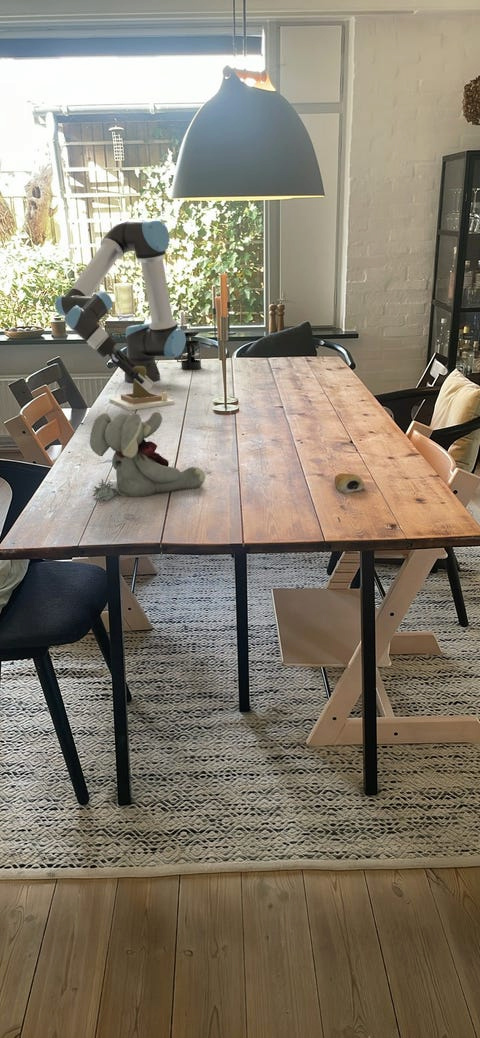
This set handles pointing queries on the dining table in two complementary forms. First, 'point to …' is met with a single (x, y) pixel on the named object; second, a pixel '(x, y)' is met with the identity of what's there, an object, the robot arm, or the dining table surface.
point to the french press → (191, 350)
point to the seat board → (141, 401)
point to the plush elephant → (137, 458)
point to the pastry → (348, 483)
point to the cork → (137, 388)
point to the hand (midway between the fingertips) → (150, 387)
